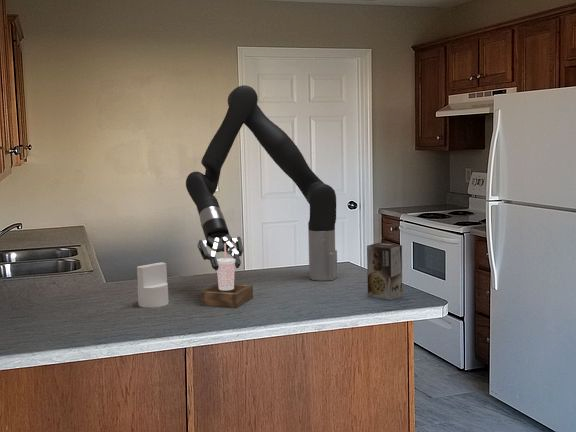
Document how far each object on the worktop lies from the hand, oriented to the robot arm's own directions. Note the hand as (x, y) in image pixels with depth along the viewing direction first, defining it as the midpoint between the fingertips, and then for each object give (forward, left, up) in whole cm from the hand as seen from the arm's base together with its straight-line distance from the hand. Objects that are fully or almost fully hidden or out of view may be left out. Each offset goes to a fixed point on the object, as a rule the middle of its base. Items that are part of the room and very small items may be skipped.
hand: (227, 267), depth 199 cm
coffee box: (-44, -19, -11) cm, 49 cm away
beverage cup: (+1, -1, -7) cm, 7 cm away
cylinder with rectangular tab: (+22, +7, -11) cm, 26 cm away
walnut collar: (+1, -1, -11) cm, 11 cm away
